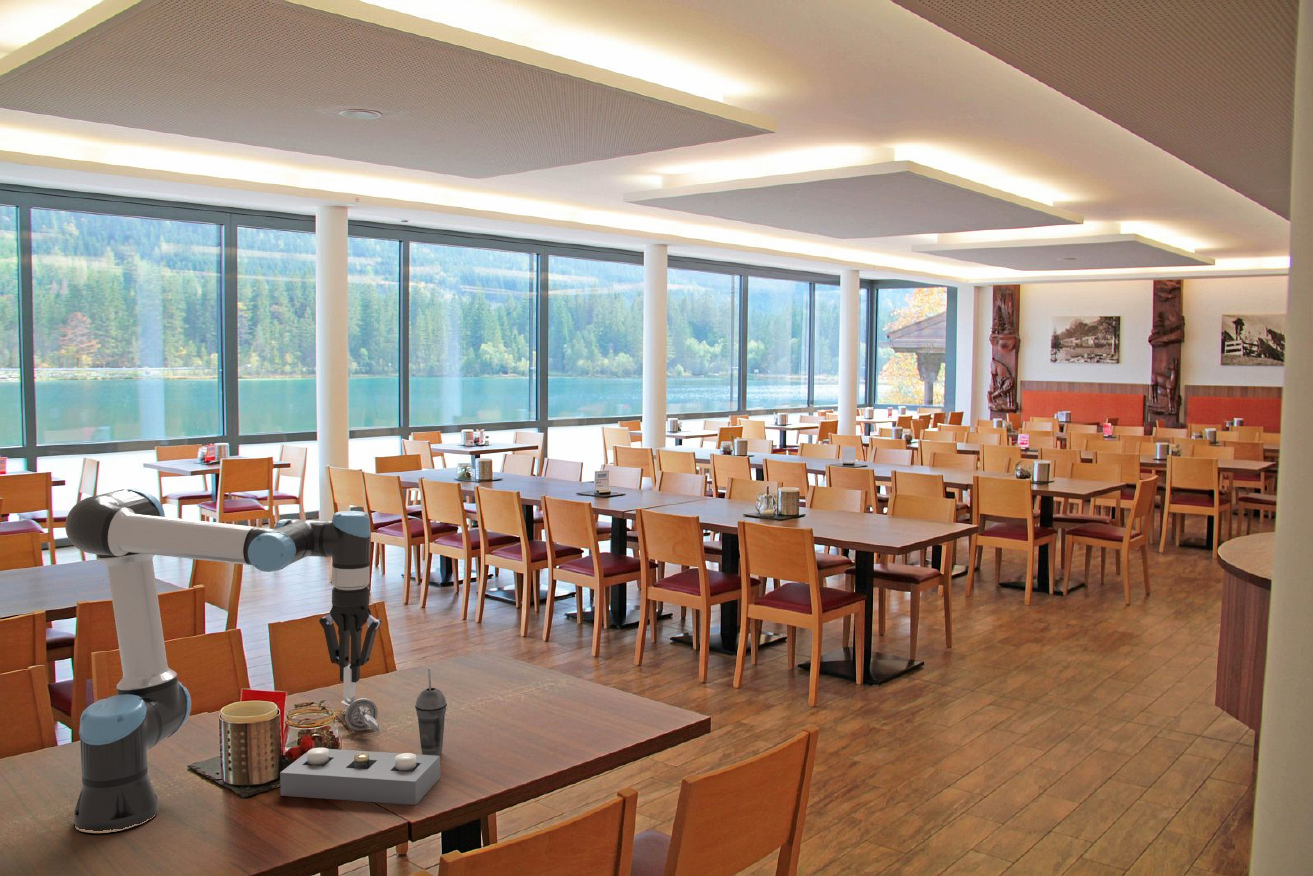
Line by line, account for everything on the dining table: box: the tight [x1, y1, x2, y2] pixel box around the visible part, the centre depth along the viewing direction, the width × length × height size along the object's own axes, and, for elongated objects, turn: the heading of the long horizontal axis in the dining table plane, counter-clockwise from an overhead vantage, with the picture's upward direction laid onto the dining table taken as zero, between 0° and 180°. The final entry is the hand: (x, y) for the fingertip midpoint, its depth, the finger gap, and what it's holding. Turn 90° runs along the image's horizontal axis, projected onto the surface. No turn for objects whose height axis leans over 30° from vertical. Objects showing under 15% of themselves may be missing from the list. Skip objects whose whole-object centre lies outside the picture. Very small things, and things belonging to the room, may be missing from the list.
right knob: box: [395, 752, 416, 772], centre depth 218 cm, size 4×4×5 cm
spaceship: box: [340, 695, 381, 734], centre depth 254 cm, size 8×35×8 cm
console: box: [279, 747, 441, 806], centre depth 220 cm, size 14×30×5 cm, turn 81°
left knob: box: [307, 747, 329, 766], centre depth 221 cm, size 4×4×5 cm
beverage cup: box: [414, 668, 448, 757], centre depth 238 cm, size 7×7×20 cm
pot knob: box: [354, 753, 369, 769], centre depth 220 cm, size 3×3×3 cm
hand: (349, 696), depth 214 cm, fingers closed
